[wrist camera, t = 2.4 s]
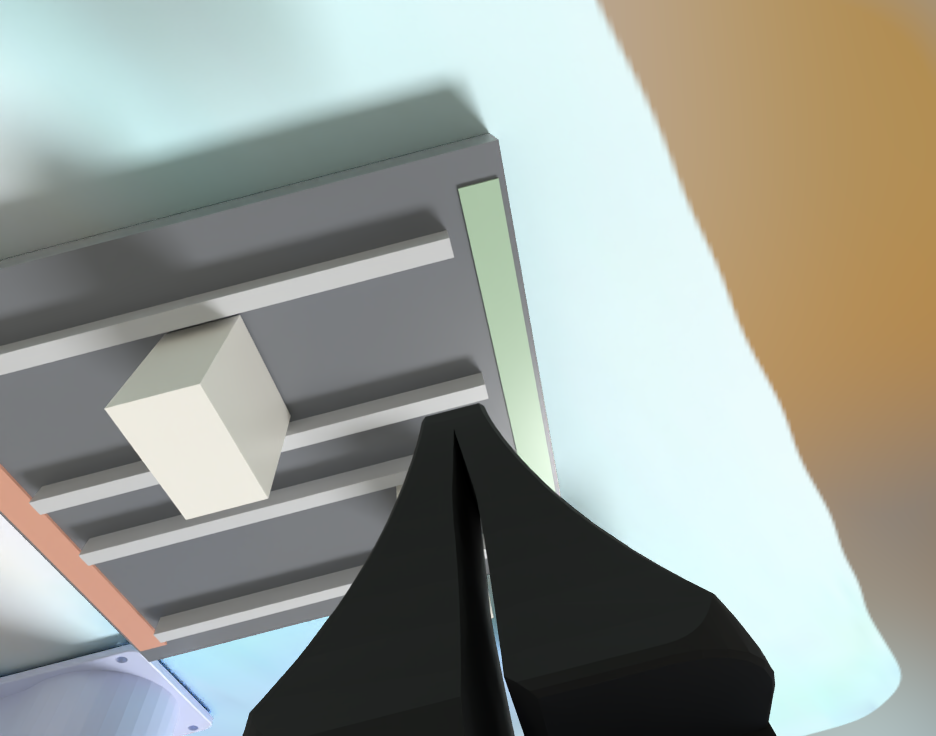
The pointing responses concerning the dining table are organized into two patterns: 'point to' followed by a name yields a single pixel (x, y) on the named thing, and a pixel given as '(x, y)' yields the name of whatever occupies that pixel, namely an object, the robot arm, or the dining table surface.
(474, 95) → the dining table surface
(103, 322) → the breaker panel
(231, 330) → the block
